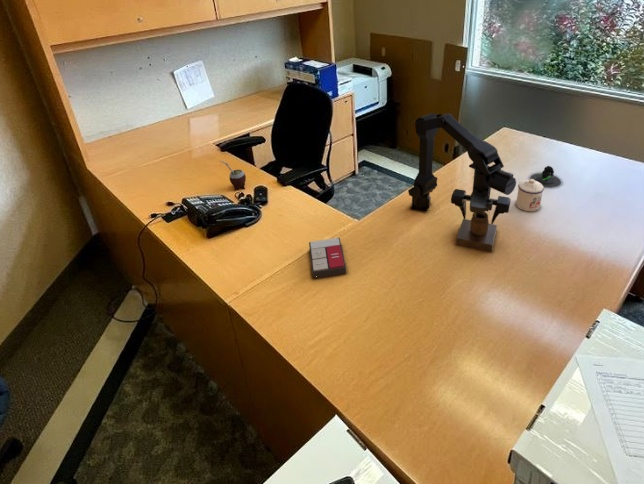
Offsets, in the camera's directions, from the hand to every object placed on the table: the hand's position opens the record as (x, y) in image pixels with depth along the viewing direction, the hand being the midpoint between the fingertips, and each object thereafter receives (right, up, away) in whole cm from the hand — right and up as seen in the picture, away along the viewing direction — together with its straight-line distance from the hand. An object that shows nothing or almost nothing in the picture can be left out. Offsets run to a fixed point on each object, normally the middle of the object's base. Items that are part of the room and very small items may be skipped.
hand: (478, 220), depth 143 cm
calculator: (-52, -14, -2) cm, 54 cm away
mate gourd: (-95, +10, +45) cm, 106 cm away
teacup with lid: (+26, +4, +20) cm, 33 cm away
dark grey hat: (+39, +13, +34) cm, 54 cm away
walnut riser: (0, -7, +4) cm, 8 cm away
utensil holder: (+1, -4, +3) cm, 5 cm away
